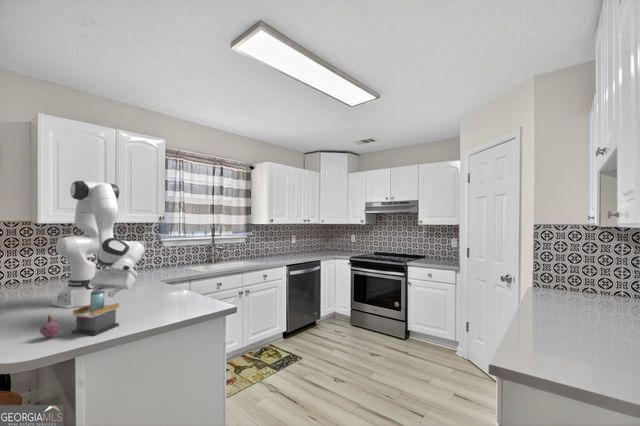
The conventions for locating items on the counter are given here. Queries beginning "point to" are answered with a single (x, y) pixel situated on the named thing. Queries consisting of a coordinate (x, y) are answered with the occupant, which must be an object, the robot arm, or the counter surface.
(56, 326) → the vegetable
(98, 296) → the teal glass jar
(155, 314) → the counter surface
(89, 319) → the block
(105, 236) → the robot arm
